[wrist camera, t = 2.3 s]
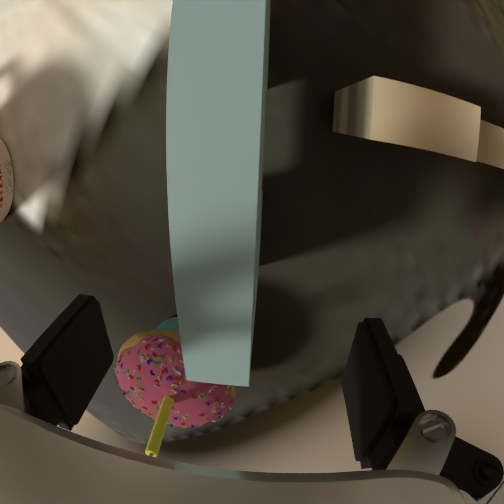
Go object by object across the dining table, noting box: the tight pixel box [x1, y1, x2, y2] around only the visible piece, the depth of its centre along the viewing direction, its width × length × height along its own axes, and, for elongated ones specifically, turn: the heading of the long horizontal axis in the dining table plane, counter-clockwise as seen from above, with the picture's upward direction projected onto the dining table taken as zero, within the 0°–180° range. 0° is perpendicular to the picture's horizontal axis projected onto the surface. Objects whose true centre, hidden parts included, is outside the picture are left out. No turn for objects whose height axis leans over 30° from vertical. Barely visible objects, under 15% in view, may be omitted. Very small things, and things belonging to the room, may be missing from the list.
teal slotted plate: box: [166, 0, 270, 387], centre depth 12 cm, size 16×2×10 cm, turn 178°
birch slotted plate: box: [332, 76, 504, 169], centre depth 12 cm, size 16×2×7 cm, turn 88°
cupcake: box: [114, 317, 236, 457], centre depth 17 cm, size 9×8×12 cm
